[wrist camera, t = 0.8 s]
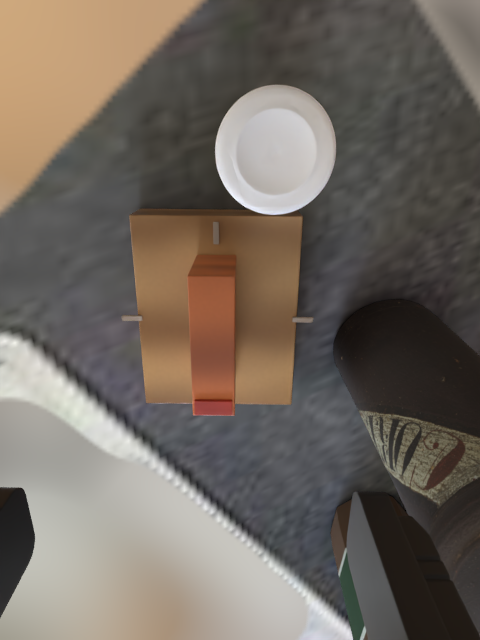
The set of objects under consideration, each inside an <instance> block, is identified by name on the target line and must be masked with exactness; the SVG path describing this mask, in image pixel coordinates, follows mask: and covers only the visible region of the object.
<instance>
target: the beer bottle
mask: <svg viewBox="0 0 480 640" xmlns="http://www.w3.org/2000/svg"><path fill="white" fill-rule="evenodd" d="M389 497H390V499H391V502H392V504H393V506H394V509H395V511H396V513H397V516H409V515H408V514H407V513H406V512H405V510H404V509H403V508H402V507H401V506H400V505H399V503H398V502H397V501H396V500H395V499H394V498H393V497H392V496H389ZM351 503H352V499H351V500H349V501H348V502H346V503H344V504H342V505H341V506H339V507H337V509H336V513H335V517H334V521H333V525H332V529H331V540H332V546H333V551H334V556H335V560H336V565H337V569H338V574H339V578H340V582H341V587H342V591H343V596H344V600H345V604H346V609H347V613H348V618H349V622H350V627H351V631H352V635H353V640H368V636H367V632H366V629H365V625H364V621H363V617H362V613H361V609H360V606H359V602H358V598H357V594H356V590H355V587H354V583H353V579H352V575H351V571H350V567H349V563H348V556H347V532H348V525H349V517H350V510H351Z"/></svg>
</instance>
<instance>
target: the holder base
mask: <svg viewBox="0 0 480 640" xmlns="http://www.w3.org/2000/svg"><path fill="white" fill-rule="evenodd" d="M129 218H130V229H131V240H132V251H133V262H134V273H135V284H136V295H137V306H138V315H122V321H139V328H140V339H141V350H142V361H143V372H144V383H145V394H146V403H192V379H191V355H190V331H189V307H188V284H187V276H188V274H189V271H190V269H191V267H192V265H193V262H194V260H195V258H196V256H197V255H236V389H235V404H291V400H292V384H293V369H294V353H295V337H296V322H313V317H297V305H298V289H299V273H300V257H301V241H302V225H303V216H302V215H301V214H300V213H299V212H298V211H297V210H295V211H293V212H290V213H286V214H280V215H268V214H262V213H258V212H255V211H252V210H237V209H139V210H137V211H136V212H134V213H132V214H130V215H129ZM192 404H193V403H192Z"/></svg>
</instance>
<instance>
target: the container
mask: <svg viewBox="0 0 480 640" xmlns="http://www.w3.org/2000/svg"><path fill="white" fill-rule="evenodd" d="M333 354H334V360H335V363H336V366H337V368H338V369H339V372H340V374H341V376H342V378H343V380H344V382H345V384H346V386H347V388H348V390H349V392H350V394H351V397H352V399H353V401H354V403H355V405H356V407H357V409H358V411H359V413H360V415H361V417H362V419H363V421H364V423H365V426H366V427H367V429H368V431H369V433H370V436H371V438H372V440H373V442H374V444H375V446H376V448H377V451H378V453H379V455H380V457H381V459H382V461H383V463H384V465H385V467H386V469H387V471H388V473H389V475H390V477H391V479H392V481H393V483H394V486H395V487H396V489H397V491H398V494H399V496H400V498H401V500H402V502H403V505H404V507H405V509H406V511H407V513H408V515H409V516H412V517H413V518H414V519H415V520H416V521H417V522H418V523H419V524H420V525H421V526H422V527H423V528H424V529H425V531H426V532H427V533H428V534H429V535H430V537H431V539H432V541H433V543H434V545H435V547H436V549H437V551H438V553H439V555H440V559H441V561H443V563H444V565H445V567H446V569H447V571H448V573H449V575H450V580H452V581H453V583H454V585H455V587H456V589H457V591H458V593H459V595H460V597H461V599H462V601H463V603H464V605H465V607H466V609H467V611H468V613H469V615H470V617H471V619H472V621H473V623H474V625H475V627H476V629H477V631H478V633H479V635H480V356H479V355H478V354H477V353H476V352H475V351H474V350H472V349H471V348H470V347H469V346H468V345H467V344H466V343H465V342H464V341H463V340H462V339H460V338H459V337H458V336H457V335H456V334H455V333H454V332H453V331H452V330H451V329H450V328H449V327H448V326H447V325H445V324H444V323H443V322H442V321H441V320H440V319H439V318H438V317H437V316H435V315H434V314H433V313H432V312H431V311H429V310H428V309H426V308H425V307H423V306H421V305H419V304H417V303H414V302H411V301H406V300H386V301H381V302H376V303H373V304H370V305H368V306H366V307H364V308H362V309H361V310H359V311H357V312H356V313H355V314H354V315H352V316H351V317H350V318H349V319H348V320H347V321H346V322H345V323H344V324H343V326H342V327H341V329H340V330H339V332H338V334H337V336H336V339H335V342H334V348H333Z"/></svg>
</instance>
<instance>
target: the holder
mask: <svg viewBox="0 0 480 640" xmlns="http://www.w3.org/2000/svg"><path fill="white" fill-rule="evenodd" d="M187 284H188V307H189V331H190V355H191V379H192V403H193V415H228V416H234V415H235V389H236V255H197V256H196V258H195V260H194V262H193V265H192V267H191V269H190V271H189V274H188V276H187Z"/></svg>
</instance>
